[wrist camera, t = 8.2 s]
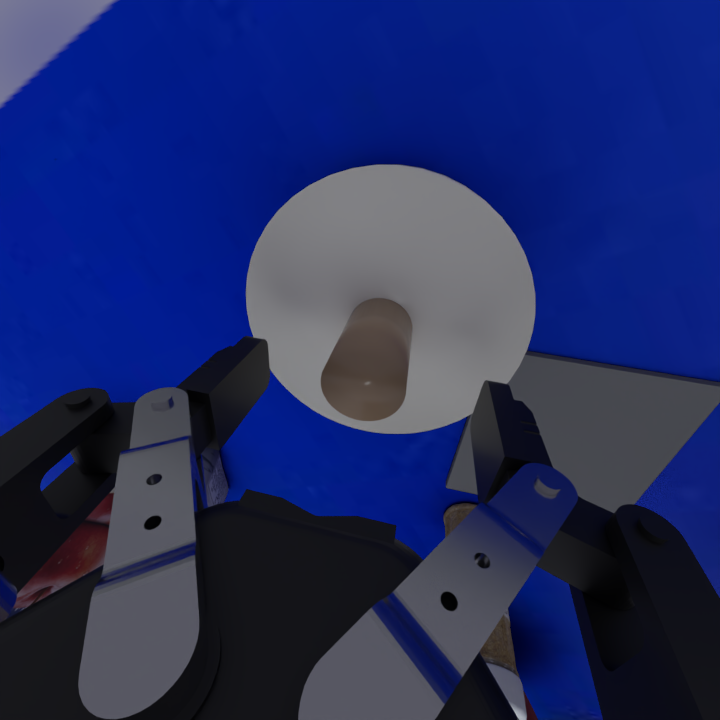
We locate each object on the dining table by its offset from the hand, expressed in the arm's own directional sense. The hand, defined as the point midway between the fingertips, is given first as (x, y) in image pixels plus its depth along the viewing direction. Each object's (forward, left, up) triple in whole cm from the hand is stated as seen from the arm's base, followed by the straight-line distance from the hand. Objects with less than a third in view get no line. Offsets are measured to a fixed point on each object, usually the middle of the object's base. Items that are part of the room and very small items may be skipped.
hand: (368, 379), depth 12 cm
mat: (-14, +10, -11) cm, 20 cm away
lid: (0, 0, -6) cm, 6 cm away
